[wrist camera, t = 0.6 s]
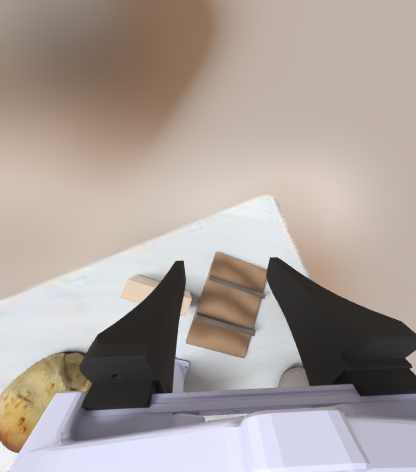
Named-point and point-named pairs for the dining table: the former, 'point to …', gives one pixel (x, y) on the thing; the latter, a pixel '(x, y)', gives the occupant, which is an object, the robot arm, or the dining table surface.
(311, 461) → the robot arm
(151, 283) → the beige rectangular block
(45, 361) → the pastry
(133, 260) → the dining table surface
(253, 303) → the tan panel with rails
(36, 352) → the dining table surface
